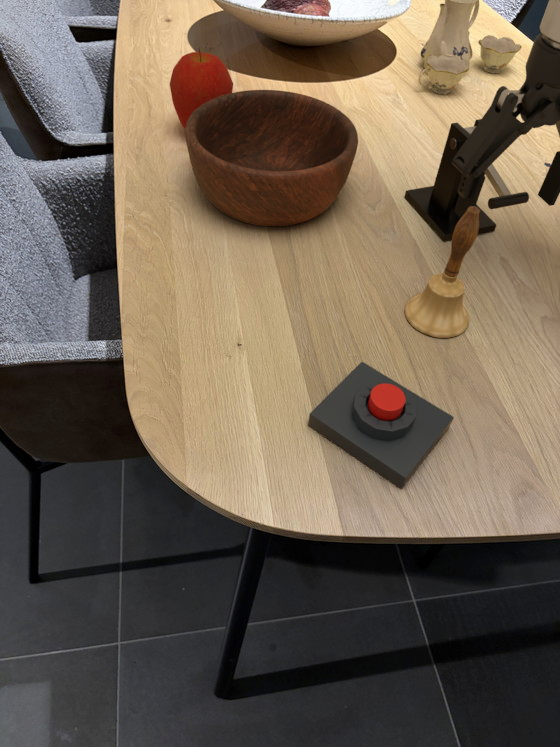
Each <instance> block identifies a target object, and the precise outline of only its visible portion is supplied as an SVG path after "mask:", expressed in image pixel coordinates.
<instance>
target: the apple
mask: <svg viewBox="0 0 560 747" xmlns="http://www.w3.org/2000/svg"><path fill="white" fill-rule="evenodd" d="M169 89H170V95H171V100H172V105H173V108H174V110H175V113H176V115H177V117H178V120H179V122H180V124H181V126H182V127H183V129H186V124H187V121H188V119H189V117H190V115H191V114H192V113H193V112H194V111H195V110H196V109H197V108H198V107H199V106H201V105H202V104H204V103H206V102H207V101H210V100H212V99H214V98H216V97H219V96H222V95H226V94H229V93H233V92H234V91H233V90H234V82H233V79H232V77H231V75H230V72H229V70H228V68H227V66H226V65H225V63H224V62H223V61H222V60H221V58H220V57H219V56H216V55H214V54H211V53H207V52H202V51H201V49H200V47H199V48H198V51H192V52H189V53H186V54H184V55H182V56H181V57H180V58H179V60H178V61H177V63H176V64H175V65H174V67H173V69H172V72H171V75H170V80H169Z"/></svg>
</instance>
